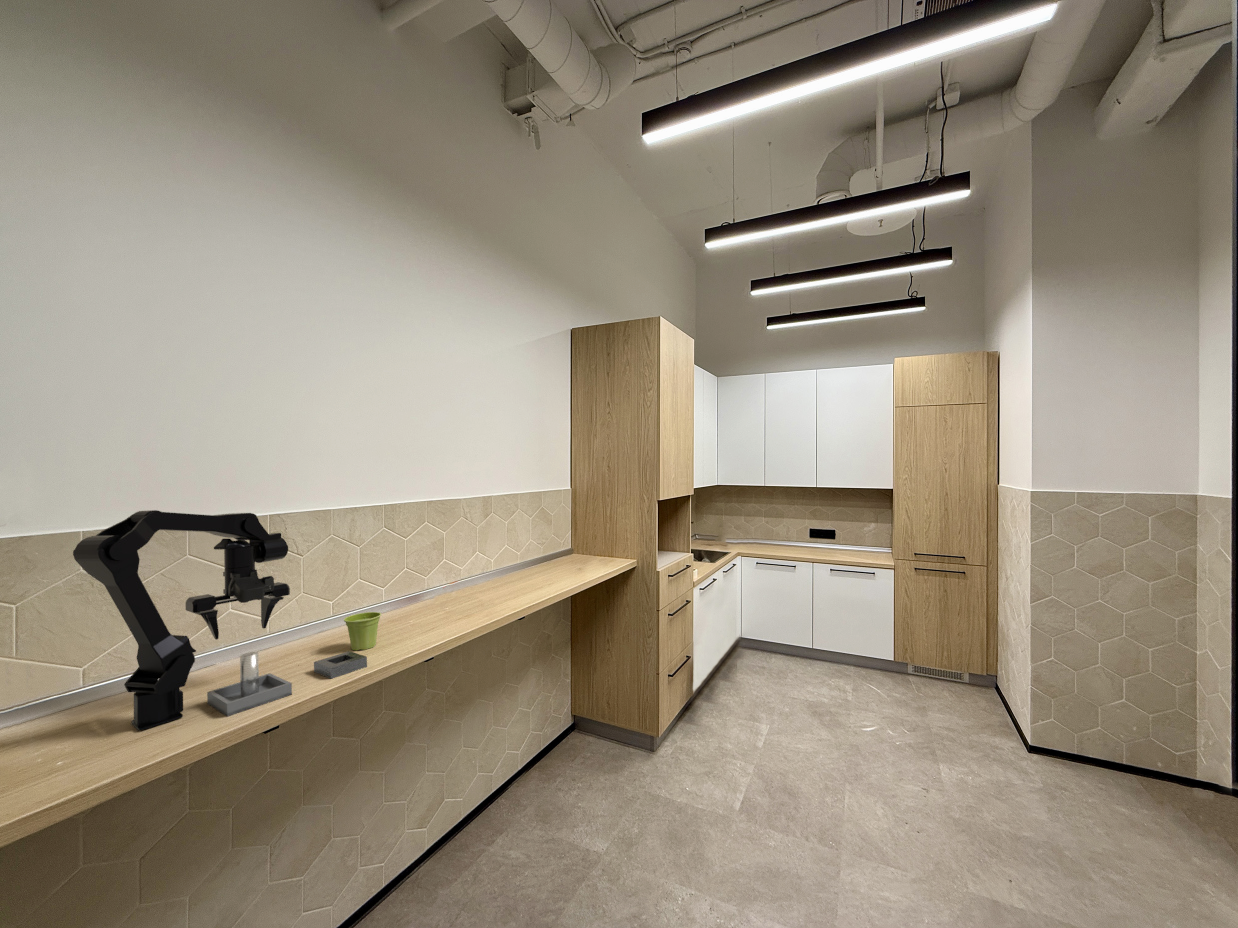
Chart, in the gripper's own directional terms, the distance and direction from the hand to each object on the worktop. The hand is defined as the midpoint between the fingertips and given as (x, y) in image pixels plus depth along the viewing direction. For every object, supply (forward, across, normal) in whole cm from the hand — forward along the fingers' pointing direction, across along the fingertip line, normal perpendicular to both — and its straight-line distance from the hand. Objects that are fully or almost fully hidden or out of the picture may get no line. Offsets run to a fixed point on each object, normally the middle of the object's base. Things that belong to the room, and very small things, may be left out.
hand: (241, 633), depth 115 cm
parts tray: (+12, -2, -11) cm, 16 cm away
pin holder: (+12, +17, -11) cm, 24 cm away
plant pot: (+12, +29, +1) cm, 31 cm away
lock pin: (+11, -2, -11) cm, 16 cm away
